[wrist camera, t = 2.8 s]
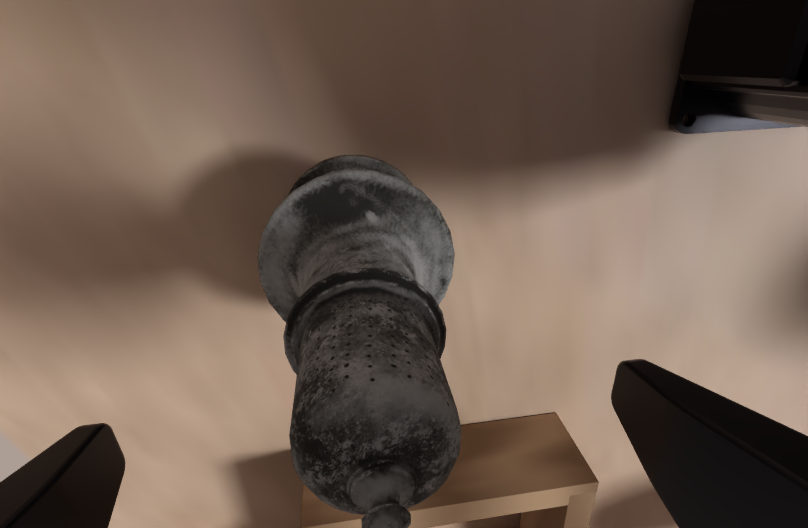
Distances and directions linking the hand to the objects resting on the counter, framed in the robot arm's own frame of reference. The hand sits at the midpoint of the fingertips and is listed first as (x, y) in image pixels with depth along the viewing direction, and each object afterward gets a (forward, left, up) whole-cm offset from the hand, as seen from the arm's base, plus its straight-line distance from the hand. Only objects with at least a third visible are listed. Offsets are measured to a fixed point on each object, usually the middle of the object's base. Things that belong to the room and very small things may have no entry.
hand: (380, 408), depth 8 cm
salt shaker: (0, 0, -10) cm, 10 cm away
